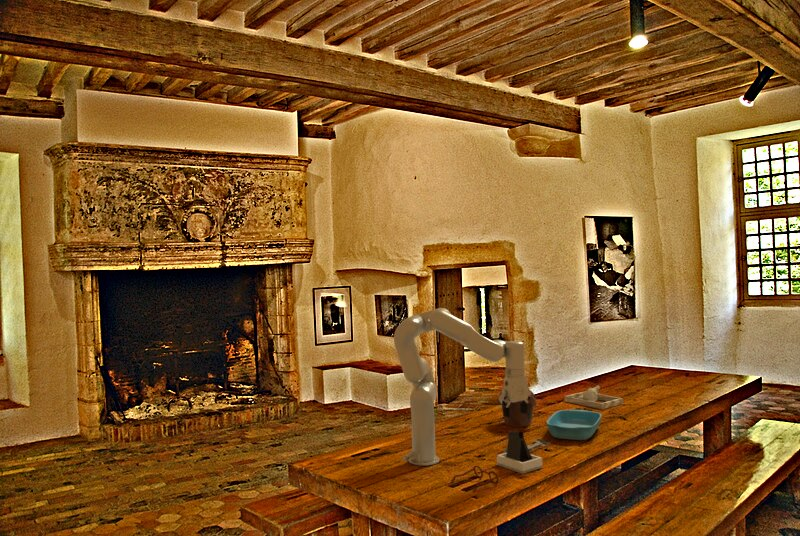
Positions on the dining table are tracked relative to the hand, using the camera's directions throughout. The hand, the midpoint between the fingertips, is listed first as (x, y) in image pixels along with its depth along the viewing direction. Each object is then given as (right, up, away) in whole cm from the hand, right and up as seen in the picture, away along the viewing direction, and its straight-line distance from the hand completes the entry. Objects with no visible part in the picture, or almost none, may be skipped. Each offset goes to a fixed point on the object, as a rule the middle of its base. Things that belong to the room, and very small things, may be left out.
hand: (515, 414), depth 279 cm
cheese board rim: (+60, -16, +105) cm, 122 cm away
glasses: (-18, -22, -19) cm, 35 cm away
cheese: (+59, -16, +108) cm, 124 cm away
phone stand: (+1, -19, 0) cm, 19 cm away
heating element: (+9, -20, +20) cm, 30 cm away
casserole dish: (+36, -19, +48) cm, 63 cm away
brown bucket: (+12, -18, +65) cm, 68 cm away
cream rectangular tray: (+2, -21, 0) cm, 21 cm away
